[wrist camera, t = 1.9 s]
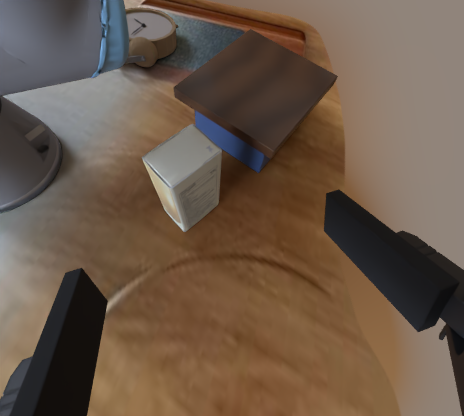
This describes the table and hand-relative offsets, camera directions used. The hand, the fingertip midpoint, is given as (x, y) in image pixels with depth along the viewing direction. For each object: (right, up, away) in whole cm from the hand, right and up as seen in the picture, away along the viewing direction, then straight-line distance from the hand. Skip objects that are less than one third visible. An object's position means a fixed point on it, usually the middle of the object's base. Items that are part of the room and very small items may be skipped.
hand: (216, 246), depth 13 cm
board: (+4, +18, +20) cm, 28 cm away
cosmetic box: (-5, +2, +20) cm, 21 cm away
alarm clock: (-16, +31, +32) cm, 48 cm away
